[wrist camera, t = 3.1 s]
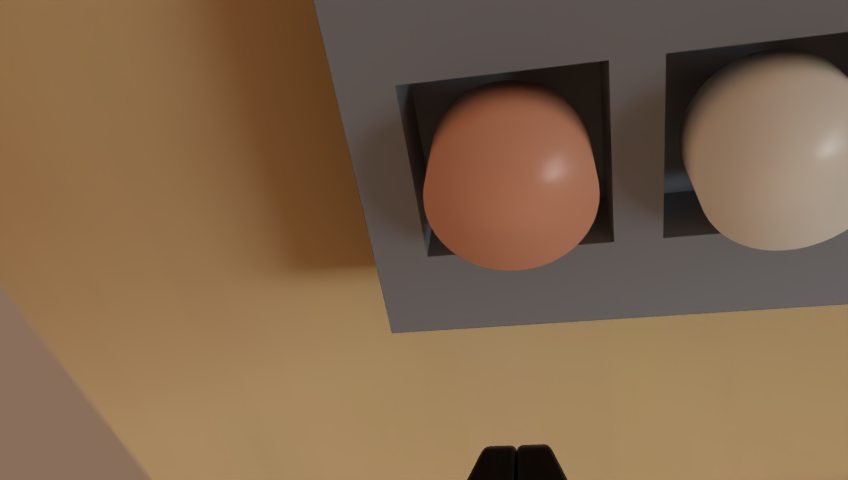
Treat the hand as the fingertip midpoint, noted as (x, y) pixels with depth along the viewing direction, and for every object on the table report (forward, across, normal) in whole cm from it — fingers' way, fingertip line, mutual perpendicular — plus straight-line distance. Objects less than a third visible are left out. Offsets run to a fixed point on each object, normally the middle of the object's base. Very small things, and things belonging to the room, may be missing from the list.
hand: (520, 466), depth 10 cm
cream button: (+9, -5, 0) cm, 10 cm away
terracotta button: (+9, 0, 0) cm, 9 cm away
